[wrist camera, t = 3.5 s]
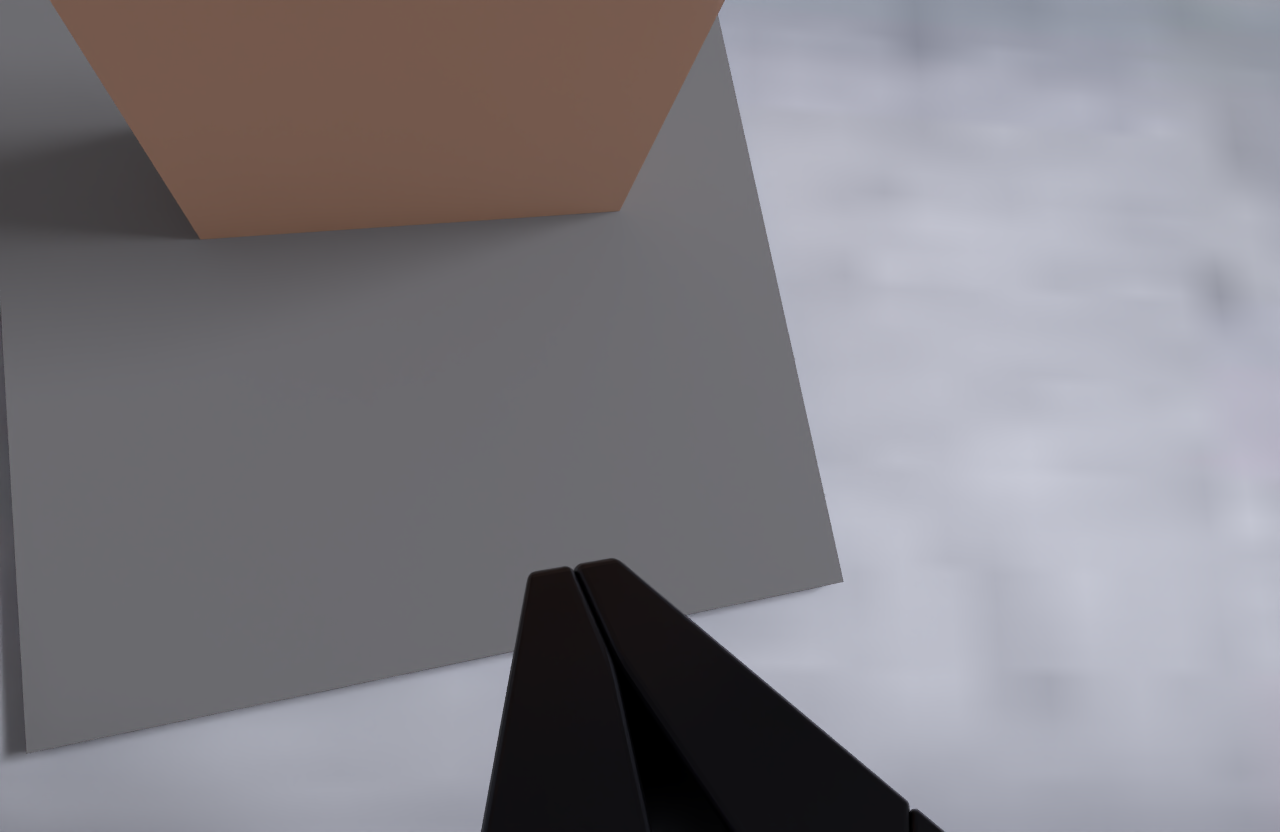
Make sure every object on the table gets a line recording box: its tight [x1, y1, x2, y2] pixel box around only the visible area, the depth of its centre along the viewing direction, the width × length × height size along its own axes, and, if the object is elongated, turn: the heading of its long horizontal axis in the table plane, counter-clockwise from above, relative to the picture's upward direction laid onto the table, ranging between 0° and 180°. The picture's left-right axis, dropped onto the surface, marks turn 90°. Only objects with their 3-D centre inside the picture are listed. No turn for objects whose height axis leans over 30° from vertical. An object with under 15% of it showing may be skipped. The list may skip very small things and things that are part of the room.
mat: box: [0, 0, 843, 754], centre depth 21 cm, size 23×18×1 cm
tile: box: [50, 0, 725, 240], centre depth 16 cm, size 10×3×10 cm, turn 101°
